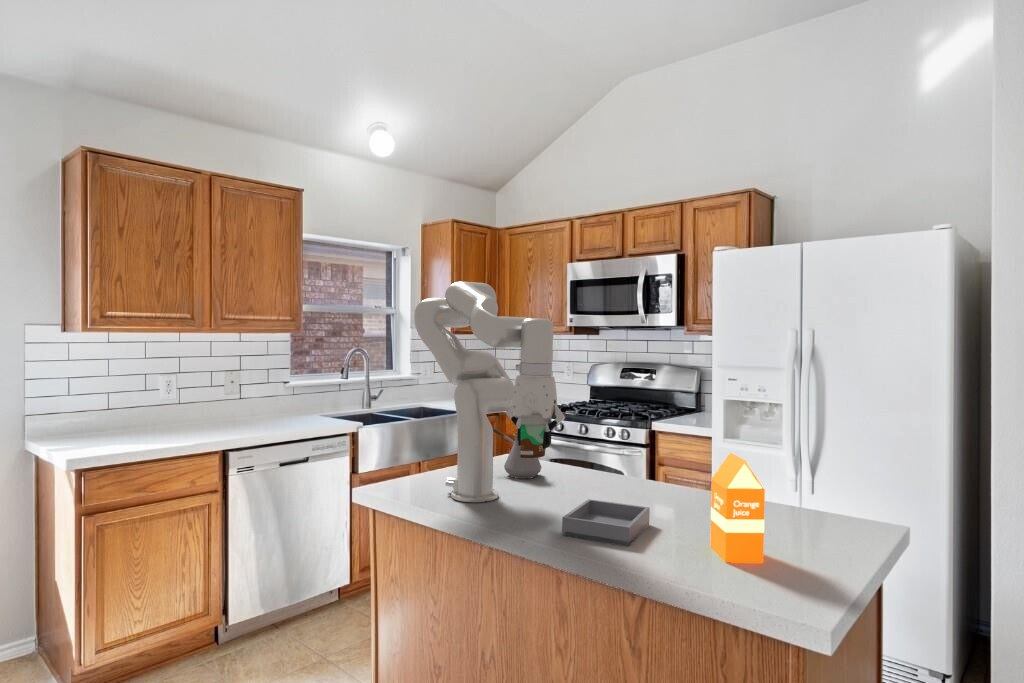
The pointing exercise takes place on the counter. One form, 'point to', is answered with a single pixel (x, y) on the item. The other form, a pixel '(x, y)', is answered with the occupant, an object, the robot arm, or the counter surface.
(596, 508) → the grey bin
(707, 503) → the counter surface
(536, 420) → the food container
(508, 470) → the coffee pot
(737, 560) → the orange juice
